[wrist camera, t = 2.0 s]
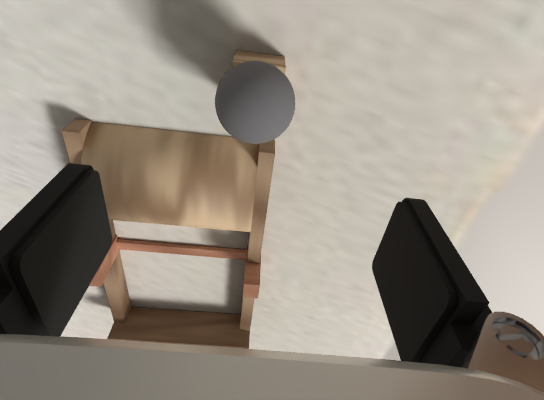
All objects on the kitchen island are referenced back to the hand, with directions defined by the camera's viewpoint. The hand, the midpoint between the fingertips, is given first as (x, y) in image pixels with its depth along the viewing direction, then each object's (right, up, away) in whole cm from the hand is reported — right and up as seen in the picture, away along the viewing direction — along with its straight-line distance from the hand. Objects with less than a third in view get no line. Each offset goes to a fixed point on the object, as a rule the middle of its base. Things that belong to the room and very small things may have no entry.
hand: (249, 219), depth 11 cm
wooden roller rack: (-7, 0, +22) cm, 23 cm away
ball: (0, +7, +8) cm, 10 cm away
